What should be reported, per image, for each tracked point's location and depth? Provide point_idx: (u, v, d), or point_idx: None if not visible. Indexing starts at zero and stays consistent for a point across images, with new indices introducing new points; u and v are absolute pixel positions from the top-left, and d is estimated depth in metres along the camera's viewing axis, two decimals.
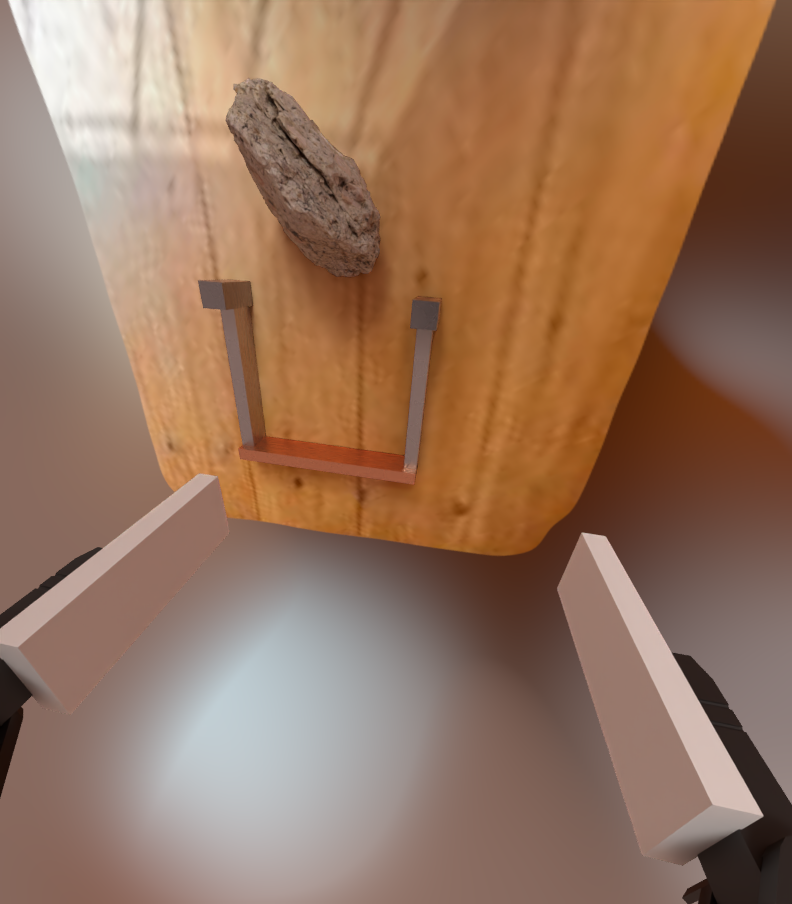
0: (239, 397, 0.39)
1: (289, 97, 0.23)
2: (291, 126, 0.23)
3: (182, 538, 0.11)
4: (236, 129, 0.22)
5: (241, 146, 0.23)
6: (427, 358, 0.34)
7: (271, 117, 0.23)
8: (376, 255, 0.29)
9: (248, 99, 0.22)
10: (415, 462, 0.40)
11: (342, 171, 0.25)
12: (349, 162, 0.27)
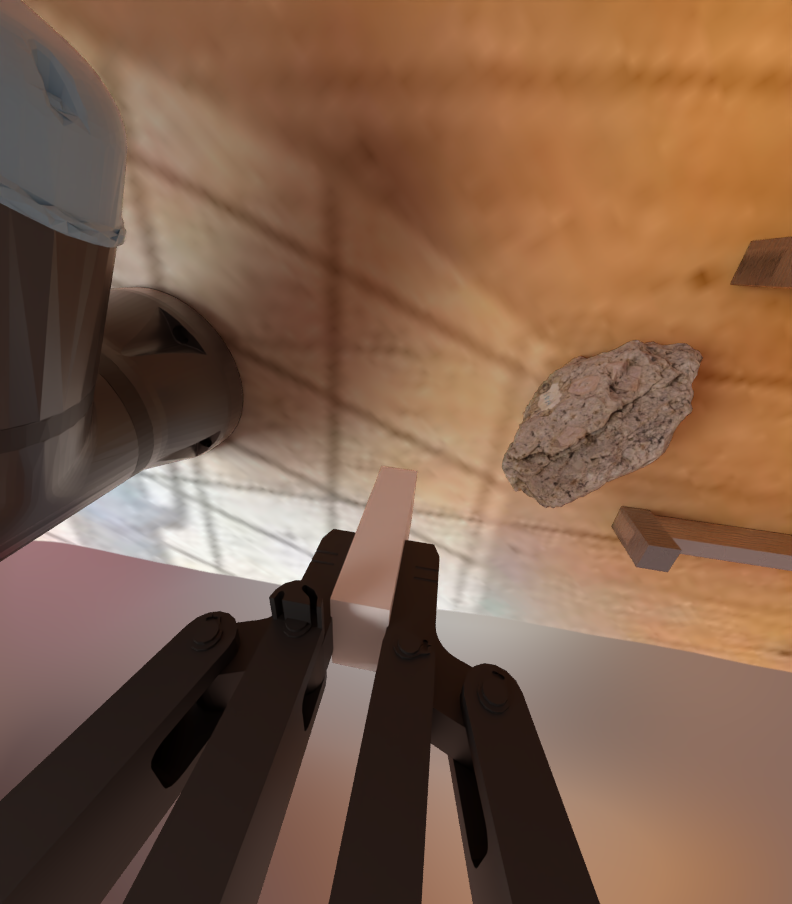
0: (788, 564, 0.27)
1: (520, 436, 0.22)
2: (558, 440, 0.20)
3: None
4: (567, 502, 0.20)
5: None
6: None
7: (547, 460, 0.21)
8: (691, 347, 0.20)
9: (535, 481, 0.20)
10: None
11: (600, 386, 0.20)
12: (564, 376, 0.23)
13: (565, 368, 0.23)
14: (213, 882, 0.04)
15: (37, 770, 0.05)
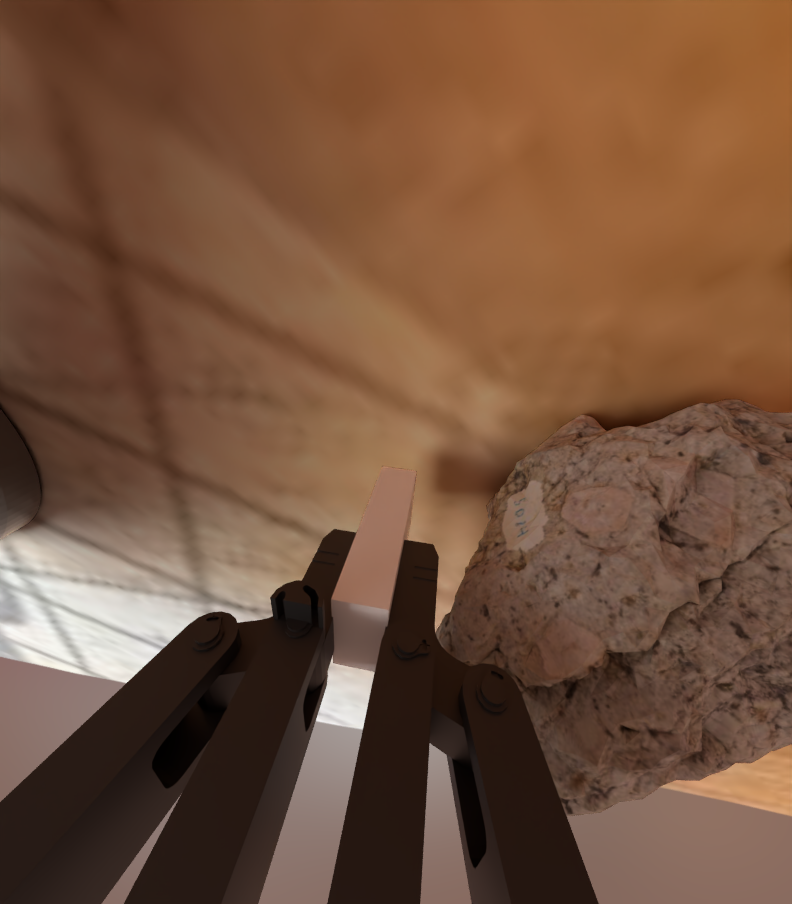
0: None
1: (462, 608, 0.10)
2: (540, 649, 0.09)
3: None
4: None
5: None
6: None
7: None
8: None
9: None
10: None
11: (636, 525, 0.08)
12: (554, 469, 0.11)
13: (555, 452, 0.11)
14: (214, 882, 0.04)
15: (38, 770, 0.05)
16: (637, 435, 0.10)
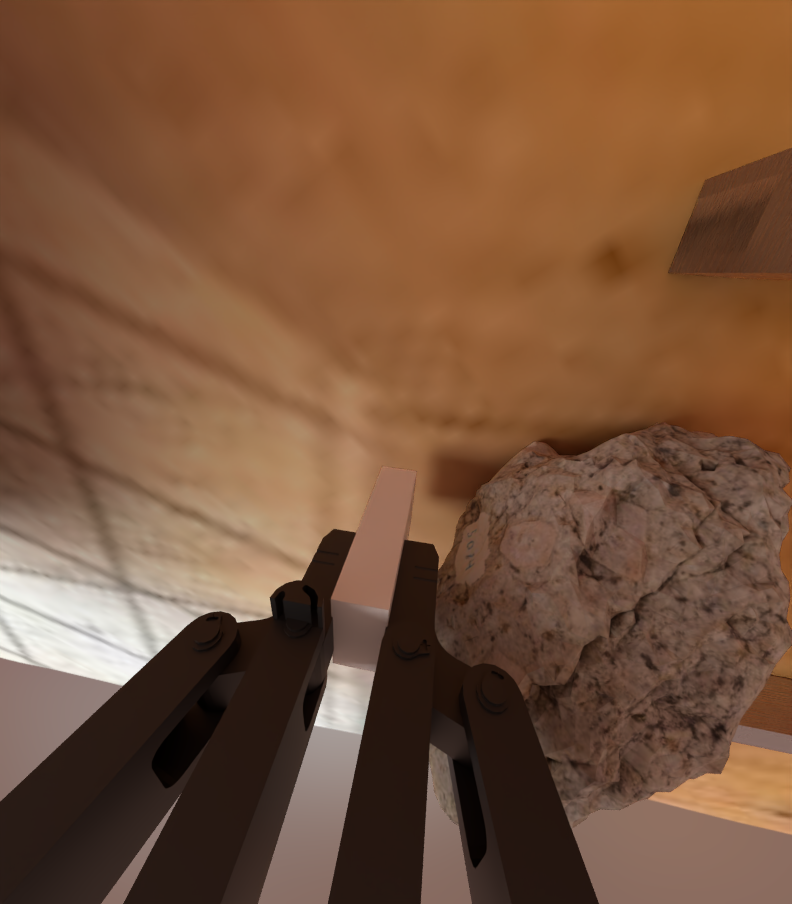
0: (787, 746, 0.16)
1: None
2: None
3: None
4: None
5: None
6: None
7: None
8: (760, 449, 0.09)
9: (440, 767, 0.10)
10: None
11: (557, 560, 0.09)
12: (499, 502, 0.12)
13: (500, 484, 0.12)
14: (213, 881, 0.04)
15: (38, 770, 0.05)
16: (567, 468, 0.10)
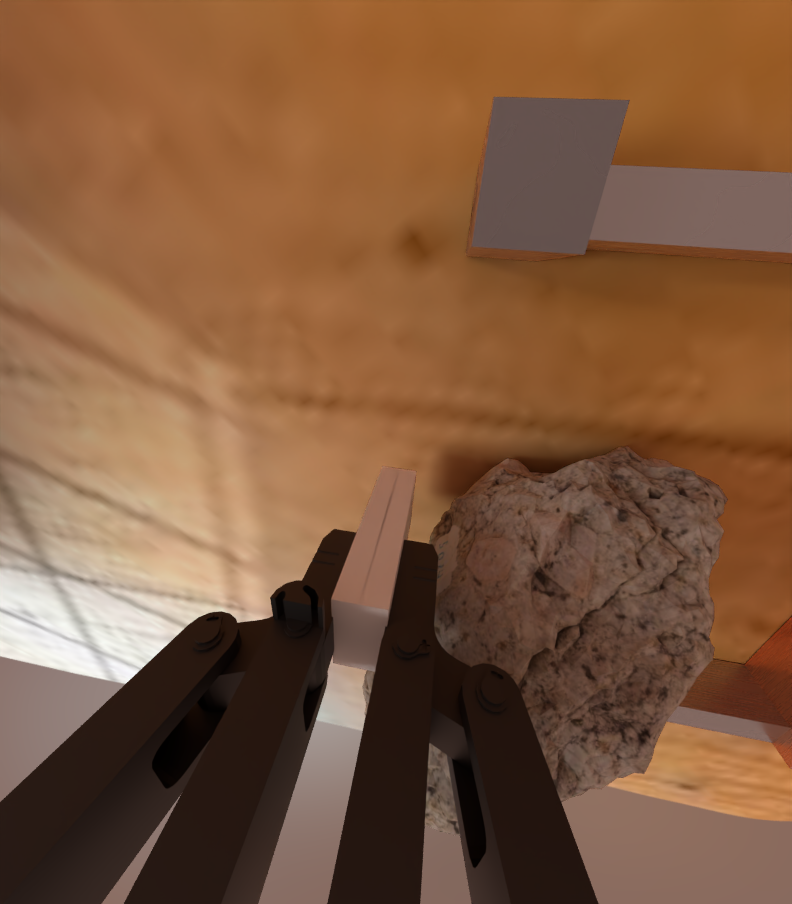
0: None
1: None
2: None
3: None
4: None
5: None
6: (716, 178, 0.08)
7: None
8: (701, 480, 0.10)
9: None
10: None
11: (514, 576, 0.10)
12: (469, 516, 0.12)
13: (471, 500, 0.13)
14: (214, 882, 0.04)
15: (39, 770, 0.05)
16: (531, 489, 0.11)
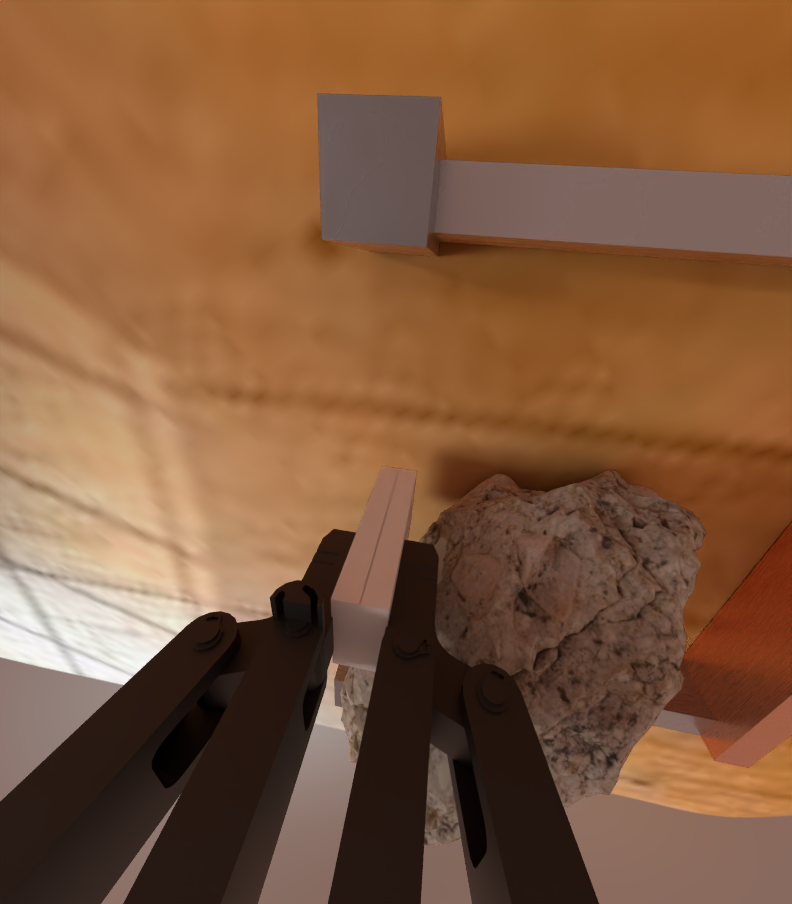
0: None
1: None
2: None
3: None
4: None
5: None
6: (567, 174, 0.08)
7: None
8: (683, 513, 0.10)
9: None
10: None
11: (498, 596, 0.10)
12: (457, 530, 0.13)
13: (460, 514, 0.13)
14: (213, 881, 0.04)
15: (38, 770, 0.05)
16: (520, 508, 0.11)
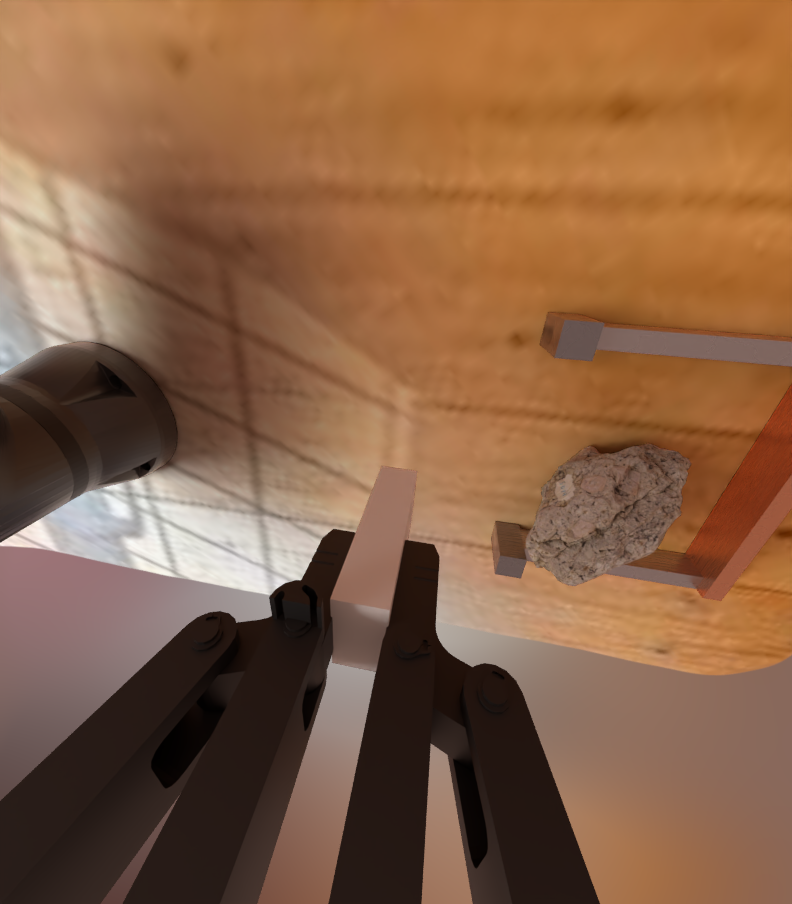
0: (626, 572, 0.32)
1: (540, 522, 0.27)
2: (572, 531, 0.25)
3: None
4: (580, 583, 0.24)
5: None
6: (637, 332, 0.23)
7: (563, 546, 0.25)
8: (681, 456, 0.25)
9: (553, 563, 0.25)
10: None
11: (607, 488, 0.25)
12: (577, 469, 0.28)
13: (578, 462, 0.28)
14: (213, 882, 0.04)
15: (37, 770, 0.05)
16: (610, 457, 0.26)
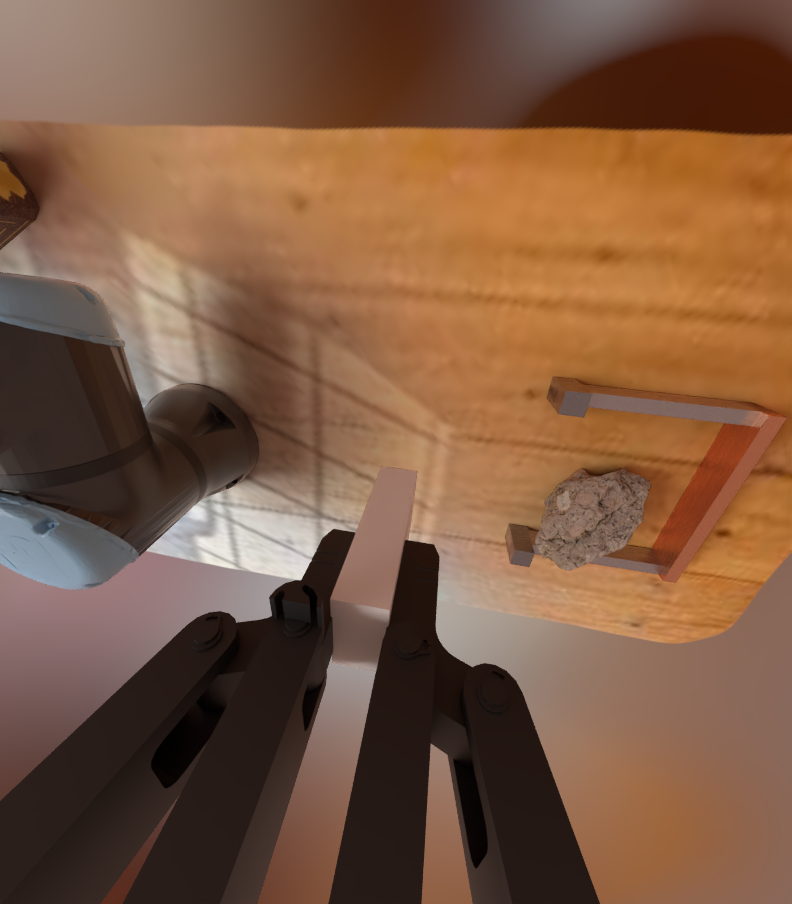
0: (607, 562, 0.43)
1: (546, 525, 0.37)
2: (569, 532, 0.36)
3: None
4: (574, 568, 0.35)
5: None
6: (614, 396, 0.34)
7: (563, 542, 0.36)
8: (645, 480, 0.36)
9: (556, 555, 0.36)
10: (749, 411, 0.32)
11: (593, 502, 0.35)
12: (572, 487, 0.38)
13: (573, 482, 0.38)
14: (213, 881, 0.04)
15: (37, 770, 0.05)
16: (596, 479, 0.37)
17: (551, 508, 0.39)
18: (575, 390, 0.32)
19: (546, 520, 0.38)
